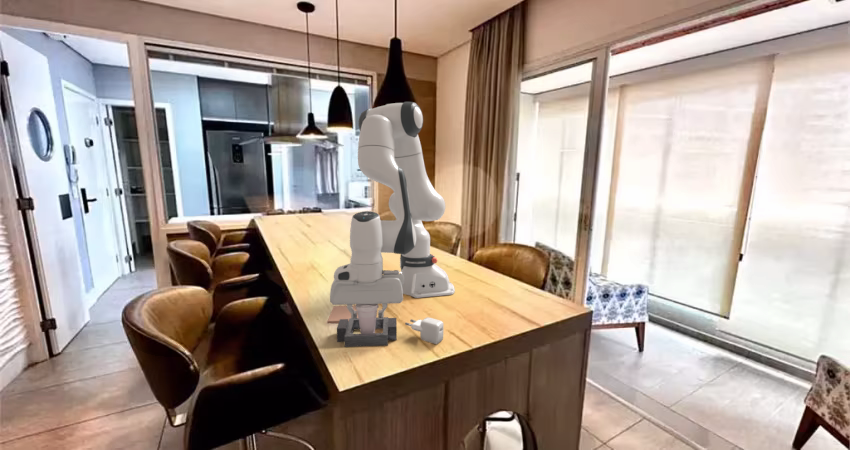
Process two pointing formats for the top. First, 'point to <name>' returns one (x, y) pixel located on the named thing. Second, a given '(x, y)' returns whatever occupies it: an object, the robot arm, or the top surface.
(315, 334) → the top surface
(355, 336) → the grey rectangular frame
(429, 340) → the power adapter
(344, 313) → the coaster
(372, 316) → the smoothie
